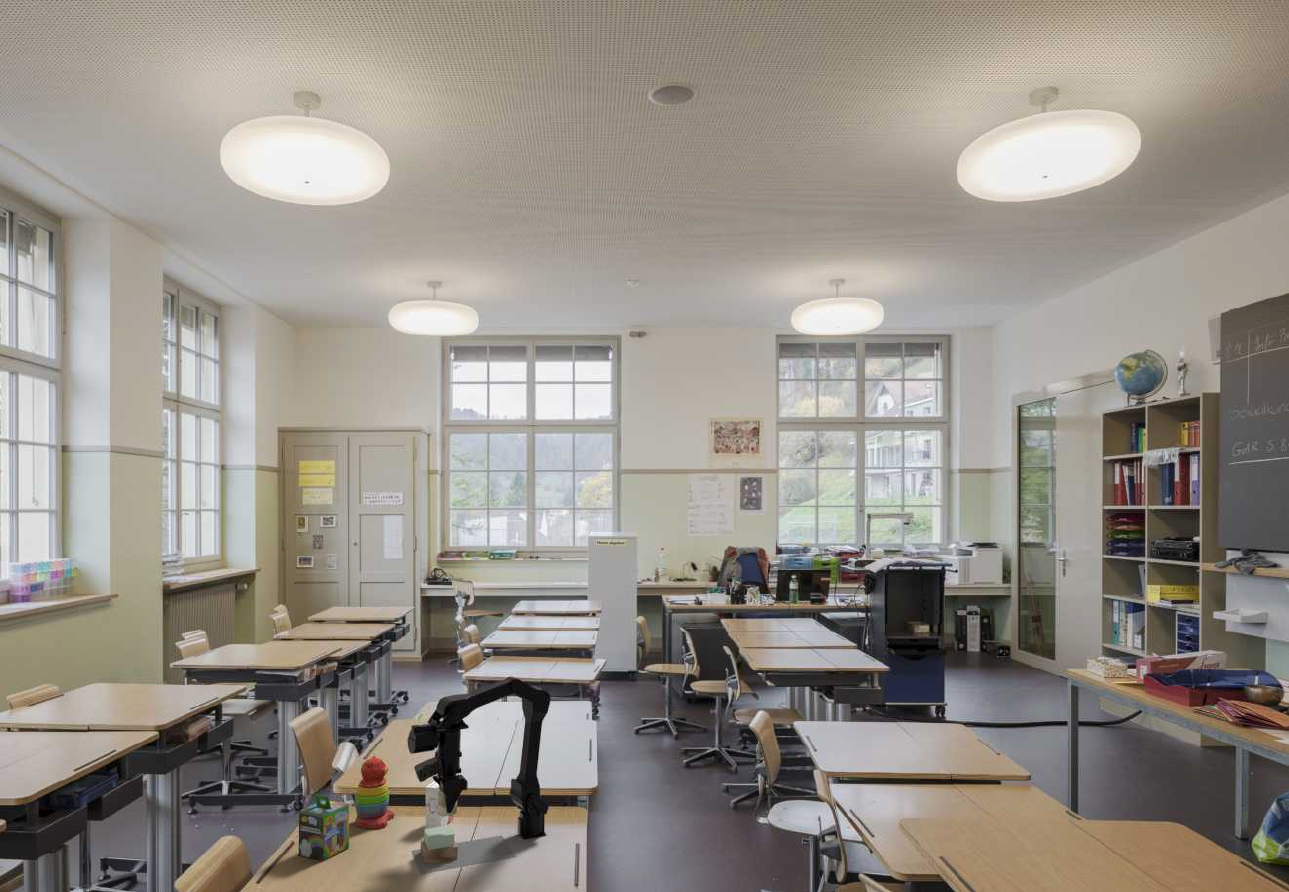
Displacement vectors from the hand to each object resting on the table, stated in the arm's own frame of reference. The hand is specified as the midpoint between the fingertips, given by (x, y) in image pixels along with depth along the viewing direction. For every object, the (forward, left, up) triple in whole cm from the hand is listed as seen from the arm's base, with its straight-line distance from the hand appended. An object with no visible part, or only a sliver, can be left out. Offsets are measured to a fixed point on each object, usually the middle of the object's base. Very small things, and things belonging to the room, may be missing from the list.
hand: (447, 809), depth 212 cm
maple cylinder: (0, 0, -1) cm, 1 cm away
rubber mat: (-4, +1, -12) cm, 13 cm away
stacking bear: (+15, -33, -12) cm, 38 cm away
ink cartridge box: (-2, -23, -12) cm, 26 cm away
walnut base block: (+2, -1, -12) cm, 12 cm away
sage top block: (+2, -1, -9) cm, 9 cm away
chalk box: (+29, -17, -12) cm, 36 cm away
